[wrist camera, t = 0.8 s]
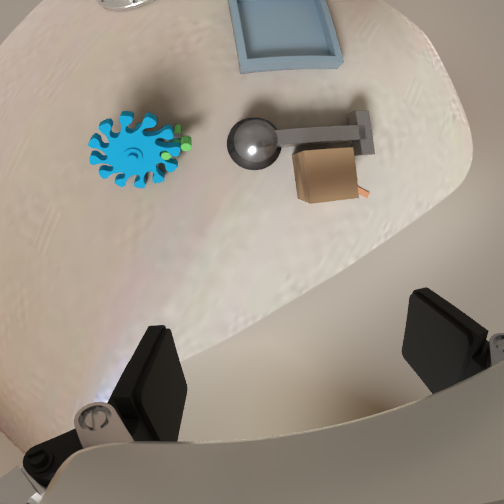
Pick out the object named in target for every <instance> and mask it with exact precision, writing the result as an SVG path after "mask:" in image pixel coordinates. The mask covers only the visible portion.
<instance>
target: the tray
mask: <svg viewBox="0 0 504 504" xmlns="http://www.w3.org/2000/svg"><path fill="white" fill-rule="evenodd" d="M228 3H229V8H230V14H231V20H232V25H233V31H234V37H235V43H236V49H237V55H238V61H239V67H240V73H241V74H243V73H252V72H262V71H275V70H291V69H337V68H338V67H339V66H340V65H341V64H342V63H344V61H343V57H342V53H341V49H340V45H339V42H338V38H337V35H336V31H335V28H334V24H333V21H332V18H331V15H330V12H329V9H328V5H327V3H326V0H228Z"/></svg>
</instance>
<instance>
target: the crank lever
mask: <svg viewBox="0 0 504 504" xmlns="http://www.w3.org/2000/svg"><path fill="white" fill-rule="evenodd" d="M347 118H348V124H349V125H347V126H323V127H307V128H294V129H283V130H275V129H274V128H273V127H272V126H271V125H270V124H269V123H267V122H265V121H262V120H249V121H247V122H245V123H243V124H242V125H240V127H239V128H238V129H237V131H236V133H235V136H234V146H235V150H236V152H237V154H238V155H239V156H240V157H241V158H242V159H244V160H245V161H248V162H252V163H258V162H262V161H264V160H266V159H268V158H269V157H270V156H272V155H273V153H274V152H275V150H276V148H277V147H287V146H297V145H308V144H320V143H335V142H351V143H352V147H353V150H354V156H360V155H372V154H375V151H374V144H373V137H372V130H371V124H370V118H369V112H368V111H353V112H351V113H349V114H347Z"/></svg>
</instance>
